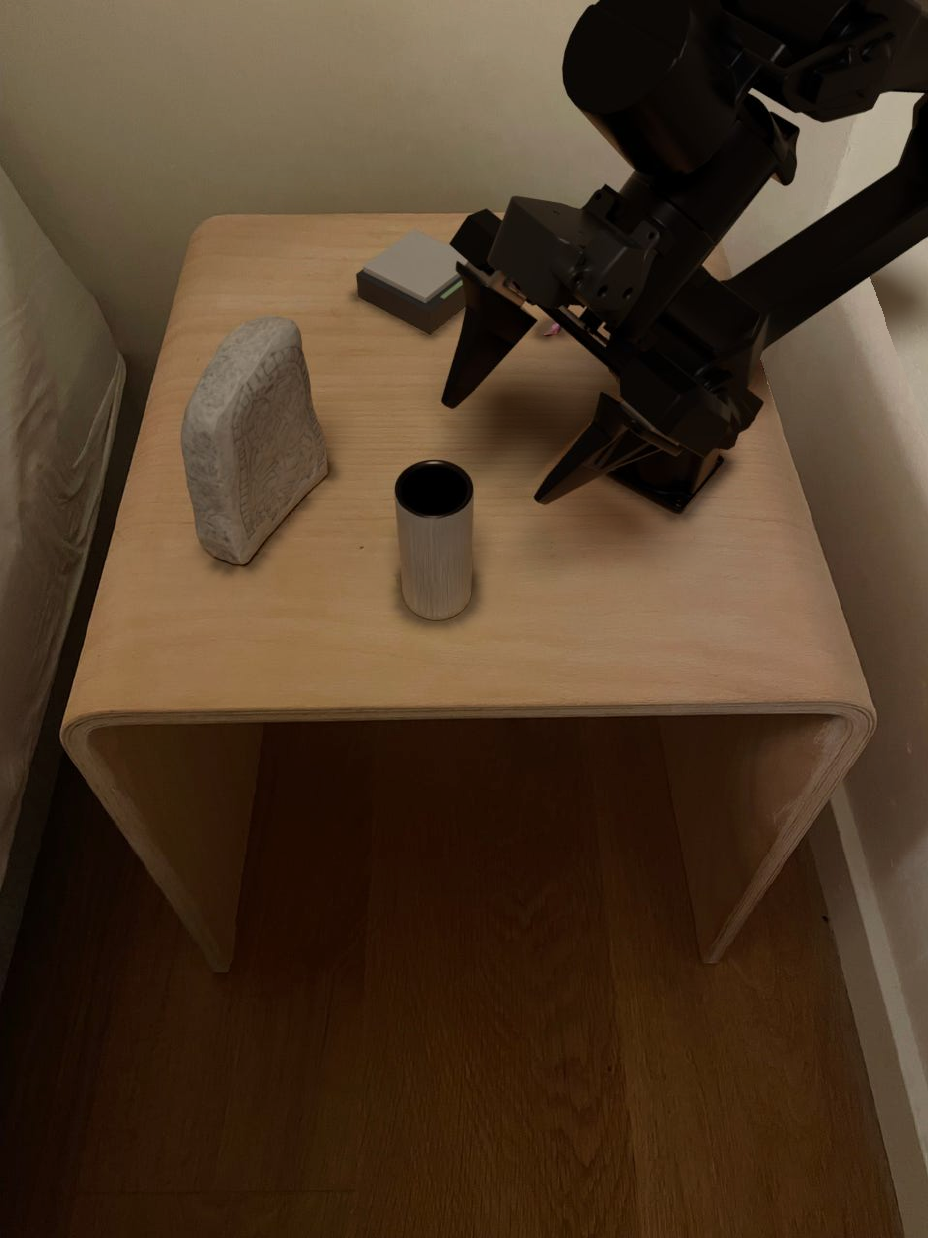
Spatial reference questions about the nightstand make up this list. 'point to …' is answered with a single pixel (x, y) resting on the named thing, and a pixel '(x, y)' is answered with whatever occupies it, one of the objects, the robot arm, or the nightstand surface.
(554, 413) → the nightstand surface
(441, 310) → the scale
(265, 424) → the decorative stone
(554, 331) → the pink seashells
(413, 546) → the planter
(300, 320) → the nightstand surface
